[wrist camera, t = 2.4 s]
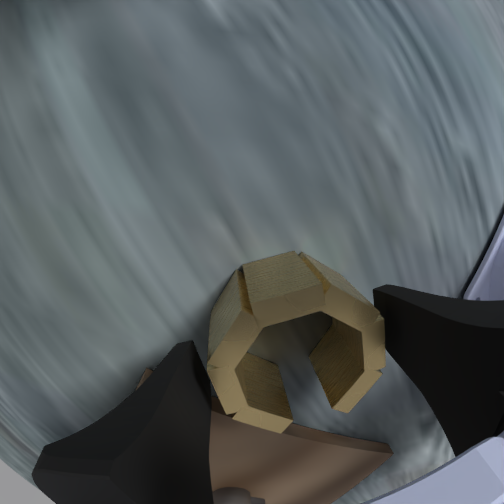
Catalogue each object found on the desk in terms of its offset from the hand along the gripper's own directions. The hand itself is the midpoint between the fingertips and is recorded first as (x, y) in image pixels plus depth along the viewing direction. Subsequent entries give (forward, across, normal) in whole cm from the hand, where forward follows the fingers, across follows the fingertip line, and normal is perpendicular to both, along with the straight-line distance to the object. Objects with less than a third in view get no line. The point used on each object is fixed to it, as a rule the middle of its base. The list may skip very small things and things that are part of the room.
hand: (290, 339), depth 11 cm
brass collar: (+1, 0, 0) cm, 1 cm away
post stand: (+1, +6, +11) cm, 13 cm away
